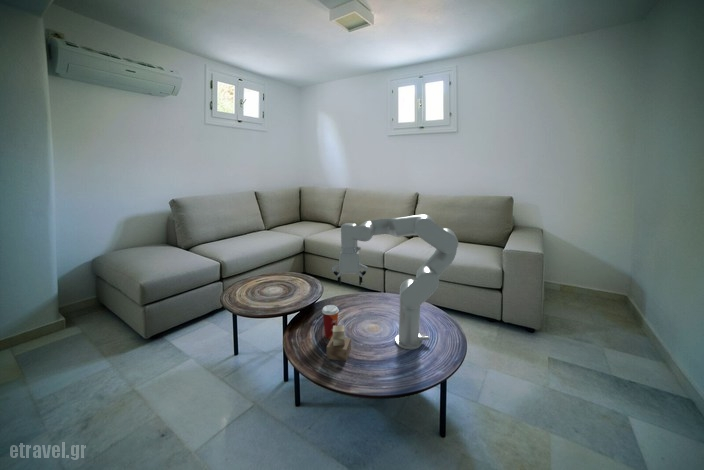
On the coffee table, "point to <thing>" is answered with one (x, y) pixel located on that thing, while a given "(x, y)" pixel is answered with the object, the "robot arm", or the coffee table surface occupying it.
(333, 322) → the coffee cup
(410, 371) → the coffee table surface
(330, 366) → the coffee table surface
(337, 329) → the oak block
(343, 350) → the tan wooden cube
